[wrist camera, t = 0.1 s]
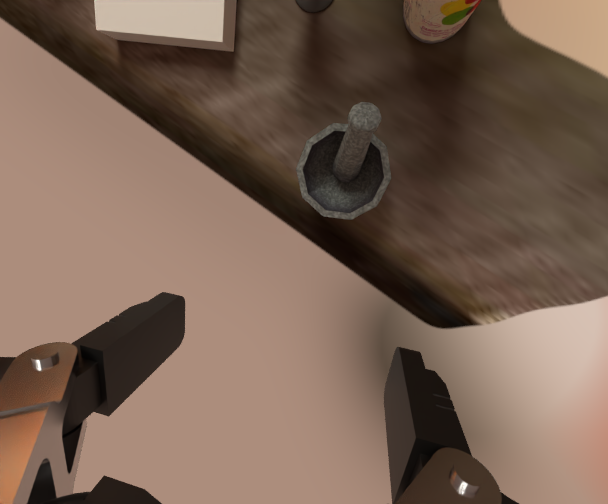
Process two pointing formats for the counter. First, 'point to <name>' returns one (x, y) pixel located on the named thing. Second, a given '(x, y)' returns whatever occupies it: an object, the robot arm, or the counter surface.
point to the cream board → (169, 22)
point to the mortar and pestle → (345, 166)
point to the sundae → (313, 4)
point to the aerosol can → (436, 18)
